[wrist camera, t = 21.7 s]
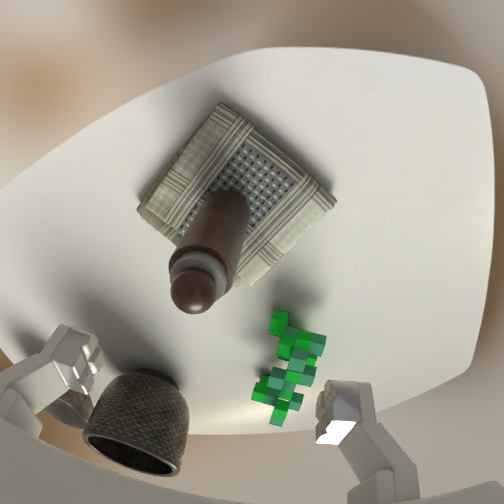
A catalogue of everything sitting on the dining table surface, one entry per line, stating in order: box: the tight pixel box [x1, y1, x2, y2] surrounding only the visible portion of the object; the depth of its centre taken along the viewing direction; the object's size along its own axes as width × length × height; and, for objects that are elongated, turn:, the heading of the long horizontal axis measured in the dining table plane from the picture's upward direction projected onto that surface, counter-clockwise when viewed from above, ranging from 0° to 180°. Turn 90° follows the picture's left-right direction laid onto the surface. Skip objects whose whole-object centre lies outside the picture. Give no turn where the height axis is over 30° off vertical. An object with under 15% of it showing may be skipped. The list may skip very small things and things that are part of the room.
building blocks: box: [251, 310, 326, 427], centre depth 47 cm, size 20×12×13 cm, turn 10°
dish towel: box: [137, 102, 337, 287], centre depth 37 cm, size 19×18×3 cm
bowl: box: [42, 389, 94, 430], centre depth 66 cm, size 21×21×10 cm
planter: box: [82, 369, 189, 477], centre depth 55 cm, size 20×20×19 cm
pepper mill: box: [169, 190, 250, 314], centre depth 29 cm, size 6×6×16 cm
